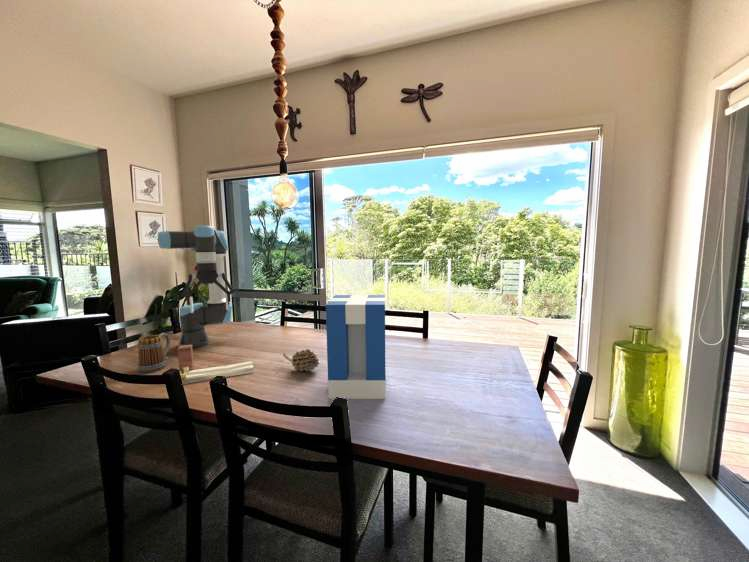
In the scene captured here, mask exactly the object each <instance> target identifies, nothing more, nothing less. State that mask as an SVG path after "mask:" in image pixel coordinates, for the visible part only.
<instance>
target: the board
mask: <svg viewBox="0 0 749 562" xmlns="http://www.w3.org/2000/svg"><path fill="white" fill-rule="evenodd" d="M252 373H254V363H253V361H245V362H238V363H233V364H225V365H220V366H219V365H218V366H213V367H212V366H211V367H206V368H200V369H194V370H191V371H188V374H187V376H186V378H183V379H182V381H183V384H182V385H187V384H192V383H197V382H198V383H199V382H204V381H205V382H206V381H210V380H213V379H212V378H214V377H216V376H225V377H224V378H229V377H234V376H240V375H246V374H247V375H248V374H252Z"/></svg>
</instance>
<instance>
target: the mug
mask: <svg viewBox="0 0 749 562" xmlns="http://www.w3.org/2000/svg"><path fill="white" fill-rule="evenodd" d="M163 337H165V339H166V340H165V341H166V343H165V347H163V344H164V341H163ZM170 347H171V336H170V334H169V333H167V332H162V333H159V334H150V335H145V336H141V337H139V338H138V343H137V348H138V364H137V365H138V367H137V369H138V372H140V373H142V374H148V373H154V372H158V371H161V370H163V369H164V368H165V367H166V366H167V362H168V361H169V357H168V356H167V354H168V352H169V350H170Z"/></svg>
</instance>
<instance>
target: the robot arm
mask: <svg viewBox="0 0 749 562" xmlns="http://www.w3.org/2000/svg"><path fill="white" fill-rule="evenodd" d="M157 243H158V246H159V248H160V249H164V250H165V249H167V250H171V249H174V250H176V249H180V250H182V251H183V250H184V251H191V252H195V260H196V261H195V262H196V274H192V273H190V274H189V275H188V280H187V282H186V284H185V286H184V288H183V290H182V293H181V297H184V298H186V305H183V306H181V307H180V308H179V322H180V332H181V333H180V336H179V339H178V340H179V341H178V347H179V346H184V345H192V349H196V348H200V347H201V348H202V347H204V346H206V345H208V344H209V343H210V338H209V336H208V333H207V332H206V327H205V326H213V325H225V324H229V323H230V322H231V320H232V313H233V311H232V309H233V303H232V302H231V295H232V294H234V293H235V290H234V288H233V287H232V285H231V283H230V282H229V280H228V278H227V276H226V273H225V263H224V262H225V260H224V258H225V256H226V255H227V252H229V245H228V241H227V235H226V233H225V231H223V230H217V229H216V230H215V229H214V227H213V226H212V225H194V227H193V230H186V231H182V230H181V231H179V230H178V231H176V230H175V231H174V230H173V231H172V230H171V231H170V230H169V231H168V230H165V231H162V230H161V231H159V232H158V233H157ZM195 279H197V280H198V281H197V283H195V285H194V286H193V287H192V289H190V286H191V285H192V284H191V283H192V282H193V280H195ZM201 284H202V285H207V284H208V293H209V295H208V296H209V299H208V300H207V302H206V304H205V305H204V303H203V302H194V300H193V299H194V298H193V296H192V294H193V293H194V292H196V290H197V289H198V288H199V286H200V285H201ZM226 286H227V287H226ZM227 288H228V289H229V290H228V289H227ZM189 289H190V291H189V292H188V290H189ZM187 292H188V293H187Z"/></svg>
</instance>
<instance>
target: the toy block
mask: <svg viewBox="0 0 749 562" xmlns="http://www.w3.org/2000/svg"><path fill="white" fill-rule="evenodd" d="M325 320H326V321H325V325H326V328H325V330H326V356H327V357H326V358H327V386H328V387H327V388H328V389H327V391H328V399H337V398H336V397H341V398H347V400H348V399H355V400H356V399H361V400H362V399H364V400H365V399H366V400H372V399H373V400H378V399H379V400H380V399H381V400H382V399H383V400H385V399H386V398H387V397H386V395H387V392H386V390H387V388H386V380H387V379H386V295H385V294H335V295H333V297H332V298H330V300H329V301H328V302H327V303H325Z"/></svg>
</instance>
